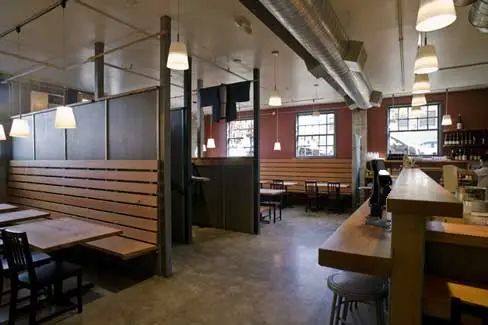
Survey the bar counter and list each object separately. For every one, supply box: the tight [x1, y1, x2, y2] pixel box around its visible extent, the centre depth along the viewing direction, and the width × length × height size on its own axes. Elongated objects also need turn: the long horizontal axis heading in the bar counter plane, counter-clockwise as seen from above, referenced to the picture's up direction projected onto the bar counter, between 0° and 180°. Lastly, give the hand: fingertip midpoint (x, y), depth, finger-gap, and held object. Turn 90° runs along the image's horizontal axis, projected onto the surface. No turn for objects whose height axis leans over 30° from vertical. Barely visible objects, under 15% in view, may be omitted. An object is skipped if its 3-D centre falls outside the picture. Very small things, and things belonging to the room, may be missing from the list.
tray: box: [364, 216, 392, 229], centre depth 197 cm, size 15×15×2 cm
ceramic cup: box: [377, 209, 388, 223], centre depth 197 cm, size 5×5×8 cm
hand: (382, 218), depth 197 cm, fingers open, 5 cm apart
